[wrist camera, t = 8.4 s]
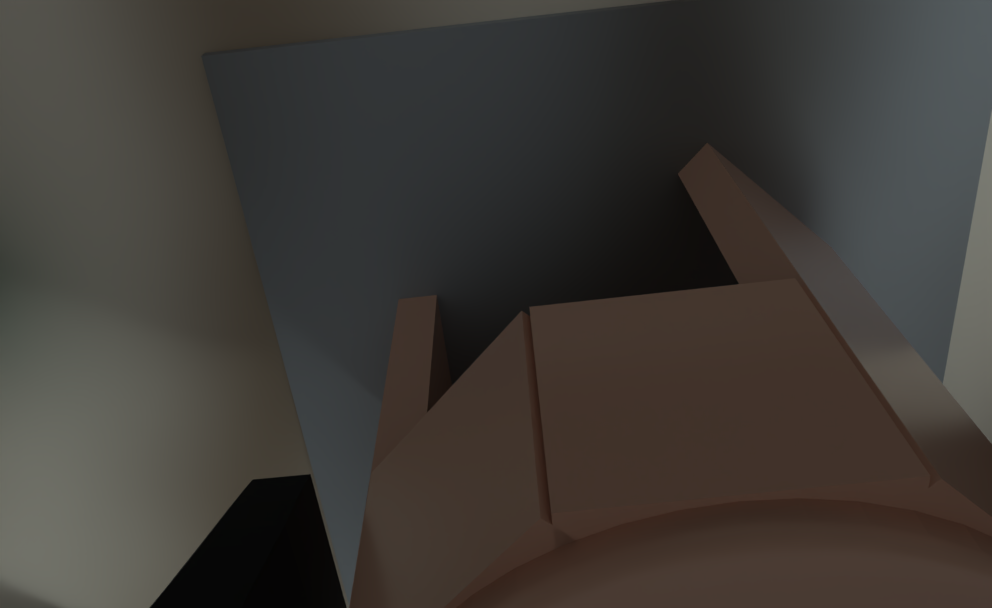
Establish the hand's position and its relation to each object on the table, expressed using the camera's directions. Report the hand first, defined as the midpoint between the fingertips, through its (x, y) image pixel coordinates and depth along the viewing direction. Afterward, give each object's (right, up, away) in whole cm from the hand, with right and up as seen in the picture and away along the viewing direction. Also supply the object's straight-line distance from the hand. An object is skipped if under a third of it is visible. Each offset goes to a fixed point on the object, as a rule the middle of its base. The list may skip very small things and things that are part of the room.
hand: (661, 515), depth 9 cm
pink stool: (0, +2, +3) cm, 3 cm away
